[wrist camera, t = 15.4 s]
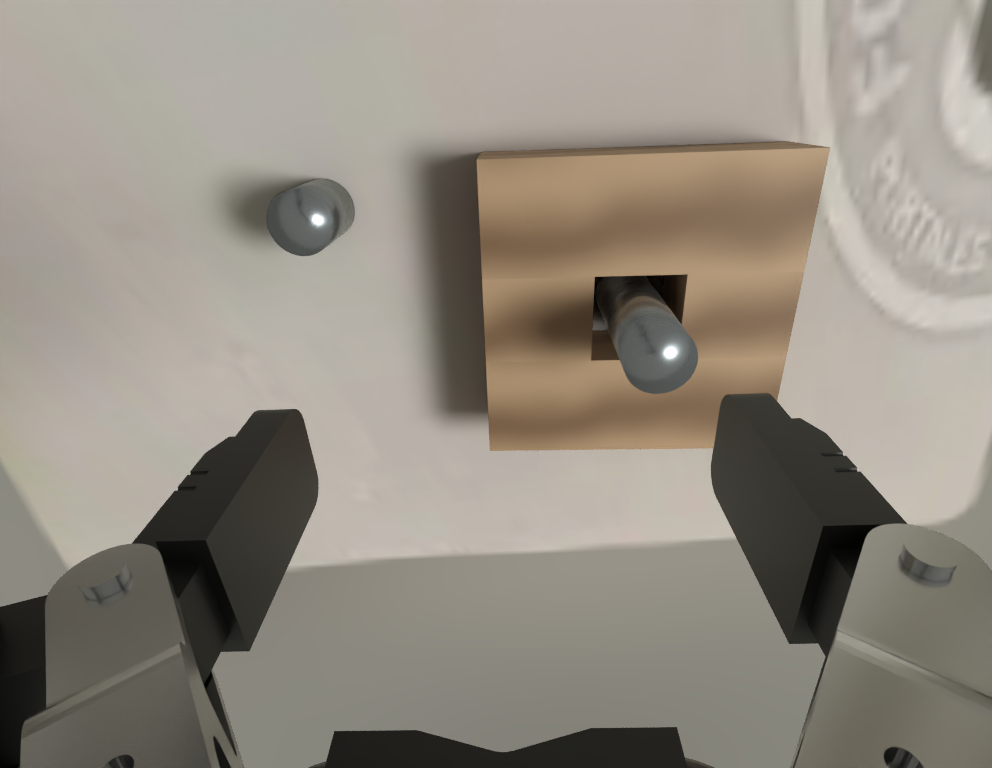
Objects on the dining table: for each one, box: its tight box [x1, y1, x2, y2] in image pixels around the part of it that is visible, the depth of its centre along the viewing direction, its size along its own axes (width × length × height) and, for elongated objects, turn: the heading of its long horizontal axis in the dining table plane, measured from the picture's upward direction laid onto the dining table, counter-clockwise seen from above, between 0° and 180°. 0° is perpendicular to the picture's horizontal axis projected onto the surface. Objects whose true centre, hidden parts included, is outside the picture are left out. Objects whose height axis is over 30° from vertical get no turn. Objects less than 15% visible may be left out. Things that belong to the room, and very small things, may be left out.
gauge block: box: [477, 142, 830, 451], centre depth 35 cm, size 18×18×5 cm
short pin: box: [267, 179, 355, 256], centre depth 34 cm, size 4×4×5 cm
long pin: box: [596, 276, 698, 394], centre depth 33 cm, size 4×4×11 cm
